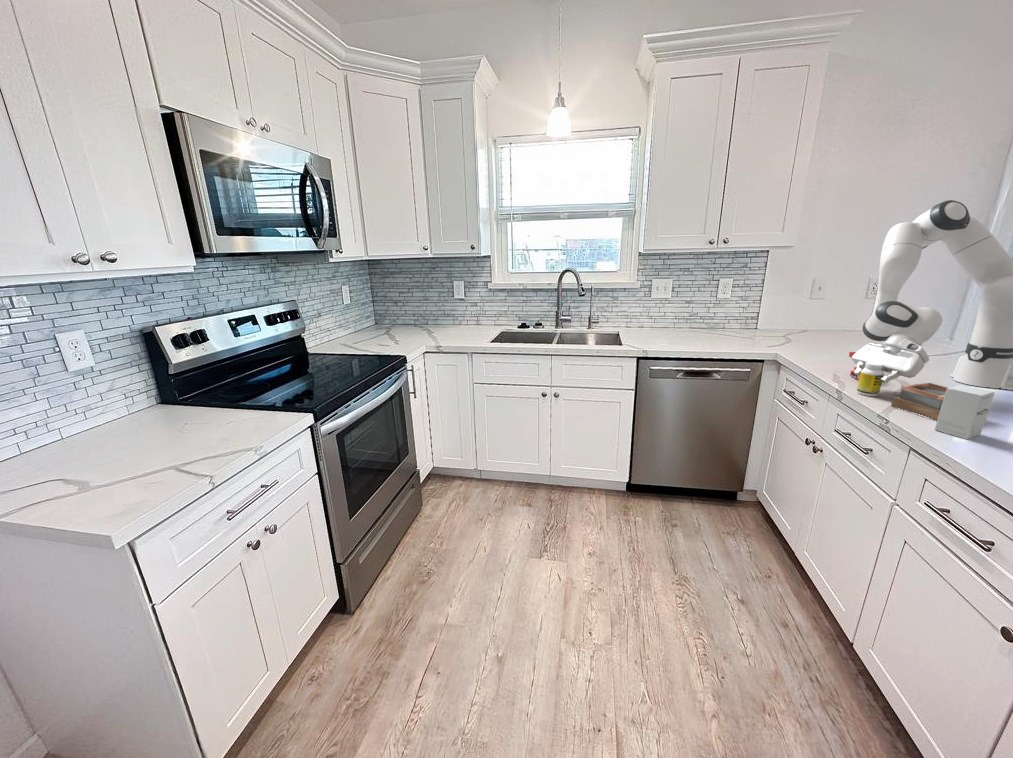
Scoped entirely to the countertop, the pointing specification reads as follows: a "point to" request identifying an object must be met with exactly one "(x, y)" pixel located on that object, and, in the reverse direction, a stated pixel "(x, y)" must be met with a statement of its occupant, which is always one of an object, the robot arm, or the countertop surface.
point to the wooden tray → (921, 399)
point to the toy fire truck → (854, 367)
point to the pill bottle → (870, 379)
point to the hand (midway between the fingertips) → (869, 377)
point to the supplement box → (964, 411)
